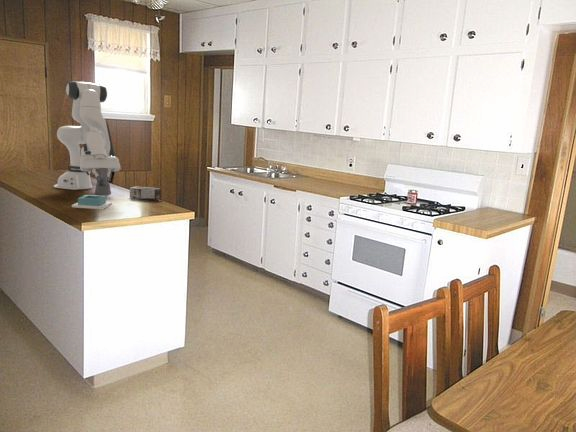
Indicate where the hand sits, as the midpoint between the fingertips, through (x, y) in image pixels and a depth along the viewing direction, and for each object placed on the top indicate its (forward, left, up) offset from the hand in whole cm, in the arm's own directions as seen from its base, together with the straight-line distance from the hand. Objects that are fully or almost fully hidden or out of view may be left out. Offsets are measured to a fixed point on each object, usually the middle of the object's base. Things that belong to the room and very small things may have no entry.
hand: (102, 176), depth 245 cm
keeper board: (-5, -1, -16) cm, 17 cm away
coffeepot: (-11, +36, -16) cm, 41 cm away
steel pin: (0, +1, -5) cm, 5 cm away
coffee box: (+7, +31, -13) cm, 34 cm away
